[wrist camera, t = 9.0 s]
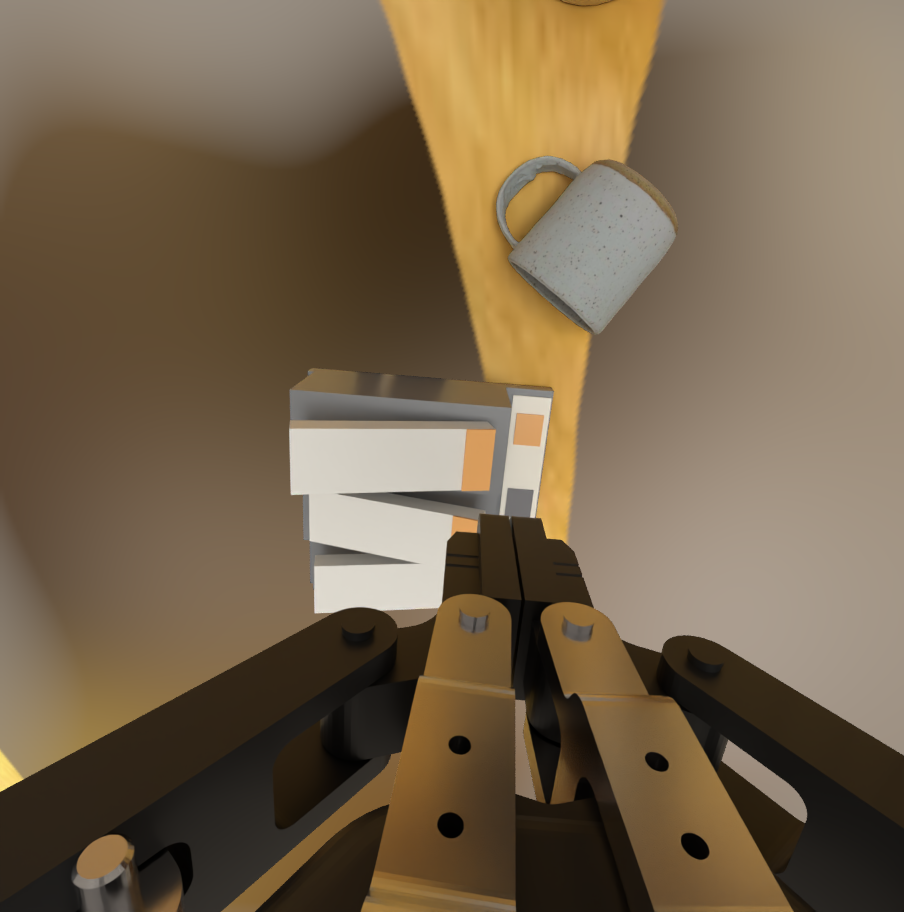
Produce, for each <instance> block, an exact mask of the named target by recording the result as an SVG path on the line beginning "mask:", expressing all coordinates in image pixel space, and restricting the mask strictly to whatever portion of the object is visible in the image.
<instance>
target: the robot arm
mask: <svg viewBox="0 0 904 912" xmlns="http://www.w3.org/2000/svg"><path fill="white" fill-rule="evenodd" d="M562 1H564V2H566V3H571V4H576V5H580V6H584V5H598V4H602V3H605V2H608V1H612V0H562ZM578 565H579V564H578V561H577V558H576V556H575V553H574V551H573V550H572V549H571V548H570V547H569V546H567V545H566V544H565V543H564V542H563V541H562V540H555V539H547V538H546V535H545V531H544V527H543V524H542V520H541V518H529V517H517V516H511V517H510V519H509V516H504V515H493V514H481V513H479V517H478V525H477V533H471V532H459V531H456V532H455V533H454V534H453V535H452V536H451V538H450V539H449V540H448V541H447V547H446V559H445V571H444V583H443V595H442V604H441V605H440V606H439V609H438V612H437V614H436V615H435V616H434V617H433V618H432V619H430V620H428V621H427V622H424V623H423V624H419V625H416V626H411V627H405V628H397V625H396V623H395V621H394V620H393V619H392V618H391V617H390V616H389V615H388V614H386V613H384V612H382V611H380V610H377V609H373V608H366V607H354V608H347V609H343V610H340V611H337V612H335V613H333V614H331V615H329V616H327V617H326V618H324V619H322V620H320V621H318V622H316V623H314V624H312V625H311V626H309V627H307V628H305V629H303V630H301V631H299V632H298V633H296V634H294V635H292V636H290V637H288V638H286V639H285V640H283V641H281V642H279V643H277V644H275V645H273V646H272V647H270V648H268V649H266V650H264V651H262V652H260V653H258V654H257V655H255V656H253V657H251V658H249V659H247V660H246V661H243V662H242V663H240V664H238V665H236V666H234V667H232V668H231V669H229V670H227V671H225V672H223V673H221V674H219V675H217V676H216V677H214V678H212V679H210V680H208V681H206V682H204V683H202V684H201V685H199V686H197V687H195V688H193V689H191V690H189V691H188V692H186V693H184V694H182V695H180V696H178V697H176V698H175V699H173V700H171V701H169V702H167V703H165V704H163V705H161V706H160V707H158V708H156V709H154V710H152V711H150V712H148V713H147V714H145V715H143V716H141V717H139V718H137V719H136V720H134V721H132V722H130V723H128V724H126V725H124V726H122V727H121V728H119V729H117V730H115V731H113V732H111V733H110V734H108V735H106V736H104V737H102V738H100V739H98V740H96V741H95V742H92V743H91V744H89V745H87V746H85V747H84V748H81V749H80V750H78V751H76V752H74V753H72V754H70V755H68V756H66V757H65V758H63V759H61V760H59V761H57V762H55V763H53V764H51V765H50V766H48V767H46V768H44V769H42V770H40V771H38V772H37V773H35V774H33V775H31V776H29V777H27V778H25V779H24V780H22V781H20V782H18V783H16V784H14V785H12V786H10V787H9V788H7V789H5V790H3V791H1V792H0V912H221V911H222V910H223V909H224V908H226V907H227V906H228V905H229V904H230V903H231V902H232V901H234V900H235V899H236V898H237V897H238V896H239V895H240V894H242V893H243V892H244V891H245V890H246V889H247V888H248V887H250V886H251V885H252V884H253V883H254V882H255V881H256V880H258V879H259V878H260V877H261V876H262V875H263V874H264V873H266V872H267V871H268V870H269V869H270V868H271V867H273V866H274V865H275V864H276V863H277V862H278V861H279V860H281V859H282V858H283V857H284V856H285V855H286V854H287V853H289V852H290V851H291V850H292V849H293V848H294V847H295V846H296V845H298V844H299V843H300V842H301V841H302V840H303V839H305V838H306V837H307V836H308V835H309V834H310V833H312V832H313V831H314V830H315V829H316V828H317V827H318V826H320V825H321V824H322V823H323V822H324V821H325V820H326V819H328V818H329V817H330V816H331V815H332V814H333V813H334V812H336V811H337V810H338V809H339V808H340V807H341V806H342V805H344V804H345V803H346V802H347V801H348V800H349V799H350V798H352V796H354V795H355V794H356V793H357V792H358V791H360V790H361V789H362V788H363V787H364V786H365V785H366V784H367V783H369V782H370V781H371V780H372V779H373V778H375V777H376V776H377V775H378V774H379V773H380V772H381V771H382V770H383V769H384V768H385V767H386V765H387V764H388V762H389V760H390V757H391V754H394V753H399V752H401V756H400V761H399V765H398V769H397V774H396V779H395V783H394V787H393V791H392V796H391V800H390V804H389V805H386V806H382V807H380V808H378V809H375V810H373V811H371V812H368V813H366V814H364V815H363V816H361V817H359V818H358V819H356V820H354V821H352V822H351V823H350V824H348V825H347V826H346V827H344V828H343V829H342V830H340V831H339V832H338V833H336V834H335V835H334V836H333V837H332V838H331V839H330V840H328V841H327V842H326V843H325V844H324V845H323V846H322V847H321V848H320V849H319V850H318V851H317V852H316V853H315V854H314V855H313V856H312V857H311V858H310V859H309V860H308V861H307V862H306V863H305V864H304V865H303V866H302V867H300V868H299V870H297V872H295V873H294V874H293V875H292V876H291V877H290V878H289V879H288V880H287V881H286V882H285V883H284V884H283V885H282V886H281V887H280V888H279V889H278V890H277V891H276V892H275V893H274V894H273V895H272V896H271V897H270V898H269V899H268V900H267V901H266V902H264V903H263V904H262V905H261V906H260V907H259V908H258V909H257V910H256V911H255V912H904V756H903V755H902V754H900V753H899V752H897V751H895V750H894V749H892V748H890V747H889V746H887V745H885V744H883V743H882V742H880V741H879V740H877V739H875V738H874V737H872V736H870V735H869V734H867V733H865V732H864V731H862V730H861V729H859V728H857V727H856V726H854V725H852V724H851V723H849V722H847V721H846V720H844V719H842V718H840V717H839V716H837V715H836V714H834V713H832V712H830V711H829V710H827V709H826V708H824V707H822V706H821V705H819V704H817V703H816V702H814V701H813V700H811V699H809V698H808V697H806V696H804V695H803V694H801V693H799V692H798V691H796V690H794V689H793V688H791V687H789V686H788V685H786V684H784V683H783V682H781V681H779V680H778V679H776V678H774V677H773V676H771V675H769V674H768V673H766V672H764V671H763V670H761V669H760V668H758V667H756V666H754V665H753V664H751V663H750V662H748V661H746V660H744V659H743V658H741V657H740V656H738V655H736V654H734V653H733V652H731V651H730V650H728V649H726V648H725V647H723V646H721V645H719V644H717V643H715V642H713V641H710V640H707V639H704V638H700V637H695V636H685V635H683V636H676V637H672V638H670V639H668V640H667V641H666V642H665V643H664V646H663V649H662V653H659V652H656V651H653V650H649V649H646V648H642V647H638V646H635V645H633V644H630V643H628V642H625V641H623V640H621V638H620V636H619V634H618V633H617V630H616V628H615V626H614V625H613V623H612V622H611V621H610V619H609V618H608V617H607V616H605V615H604V614H603V613H601V612H600V611H598V610H596V609H594V607H593V605H592V602H591V598H590V595H589V593H588V590H587V587H586V584H585V581H584V578H582V573H581V570H580V567H578ZM515 699H516V700H525V704H526V714H525V721H524V727H523V737H524V742H525V747H526V752H527V756H528V761H529V767H530V772H531V777H532V782H533V787H534V792H535V797H536V800H532V799H529V798H526V797H523V796H520V795H517V794H515ZM728 740H730V741H731V742H732V743H734V744H735V745H737V746H738V747H739V748H741V749H742V750H743V751H745V752H747V753H748V754H749V755H751V756H752V757H753V758H754V759H756V760H757V761H758V762H760V763H761V764H763V765H764V766H765V767H767V768H768V769H769V770H771V771H772V772H774V773H775V774H776V775H778V776H779V777H780V778H782V779H783V780H785V781H786V782H787V783H789V784H790V785H791V786H792V787H793V788H794V789H795V790H796V791H797V792H798V793H799V795H800V796H801V798H802V799H803V801H804V803H805V806H806V809H807V821H806V823H803V822H802V821H800V820H798V819H797V818H795V817H794V816H793V815H791V814H790V813H788V812H787V811H786V810H785V809H783V808H782V807H781V806H779V805H778V804H777V803H776V802H774V801H773V800H772V799H770V798H769V797H768V796H766V795H765V794H764V793H763V792H761V791H760V790H759V789H757V788H756V787H755V786H753V785H752V784H751V783H750V782H748V781H747V780H746V779H744V778H743V777H742V776H740V775H739V774H738V773H736V772H735V771H734V770H733V769H731V768H730V767H729V766H727V765H726V764H724V763H723V762H722V761H721V760H722V757H723V754H724V751H725V748H726V745H727V742H728Z"/></svg>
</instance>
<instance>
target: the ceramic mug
mask: <svg viewBox="0 0 904 912" xmlns="http://www.w3.org/2000/svg"><path fill="white" fill-rule="evenodd" d="M549 171H554V172H558V173H559V174H564V175H566V176H567V177H569V178H571V179H573V181H572V182H571V183H570V185H569V186H568V187H567V188H566V190H565V191H564V192H563V193H562V194H561V196H560V197H559V198H558V200H557V201H556V202H555V203H554V204H553V206H552V207H551V208H550V209H549V210H548V211H547V212H546V213H545V215H544V216H543V217H542V218H541V219H540V220H539V221H538V222H537V223H536V224H535V225H534V227H533V228H532V229H531V230H530V231H529V233H528V234H527V235H526V236H525V237H524V238H523V239H522V240H521V242H517V241H516V240H515V239H514V238H513V237H512V235H511V233H510V231H509V229H508V227H507V224H506V218H505V213H506V212H505V211H506V208H507V207H508V204H509V202H510V200H511V199H512V198H513V197H514V196H515V195H516V194H517V193H518V192H519V191H520V189H521V188H522V187H523V186H524V185H526V184H527V183H528V182H530V181H532V180H534V178H535V176H536V174H537V173H541V172H549ZM496 212H497V219H498V223H499V226H500V229H501V231H502V233H503V234H504V236H505V238H506V239H507V240H508V242H509V243H510V245H511V246H512V248H513V249H514V250H513V251H512V252H511V253H510V254H509V256H508V260H509V262H510V264H511V265H512V267H513V268H514V269H515V270H516V271H517V272H518V273H519V274H520V275H521V276H522V277H523V278H524V279H525V280H526V281H527V283H529V284H530V285H531V286H532V287H534V288H535V289H536V290H537V292H538V293H540V294H541V295H542V296H543V297H544V298H545V299H546V300H548V301H549V302H550V303H551V304H552V305H553V306H554V307H556V308H557V309H558V310H559V311H560V312H562V313H563V314H564V315H566V316H567V317H568V318H569V319H570V320H572V321H573V322H574V323H576V324H577V325H578V326H580V327H582V328H583V329H584V330H586V331H588V332H589V333H591V334H594V335H597V334H600V333H601V332H602V331H603V330H604V328H605V327H606V325H607V324H608V323H609V322H610V321H611V319H612V318H613V317H614V316H615V314H616V313H617V312H618V311H619V310H620V309H621V308H622V306H623V305H624V304H625V303H626V302H627V300H628V299H629V298H630V297H631V296H632V294H633V293H634V292H635V290H636V289H637V288H638V287H639V285H640V284H641V283H642V282H643V281H644V279H645V278H646V277H647V276H648V275H649V273H650V272H651V271H652V270H653V269H654V268H655V267H656V266H657V264H658V263H659V262H660V261H661V259H662V258H663V257H664V255H665V254H666V253H667V251H668V249H669V248H670V246H671V244H672V243H673V241H674V239H675V237H676V235H677V231H678V223H677V218H676V215H675V213H674V211H673V209H672V207H671V205H670V204H669V203H668V201H667V200H666V198H665V197H664V196H663V195H662V194H661V193H660V192H659V190H657V188H656V187H655V186H653V185H652V184H651V183H650V182H649V181H647V180H646V179H645V178H644V177H643V176H641V175H640V174H639V173H637V172H636V171H635V170H633V169H631V168H629V167H627V166H626V165H624V164H622V163H620V162H617V161H613V160H600V161H596V162H594V163H593V164H592V165H590V166H589V167H588V168H586V169H585V170H584V171H583V172H581V171H580V170H579V169H578V168H577V167H576V166H574V165H573V164H572V163H570V162H567V161H565V160H564V159H561V158H557V157H553V156H544V157H538V158H535V159H532V160H529V161H527V162H525V163H524V164H522V165H521V166H519V167H518V168H517V169H516V170H515V171H513V173H512V174H511V175H510V176H509V177H508V178H507V179H506V181H505V182H504V184H503V185H502V187H501V189H500V191H499V193H498V197H497V202H496Z"/></svg>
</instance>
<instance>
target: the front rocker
mask: <svg viewBox="0 0 904 912" xmlns="http://www.w3.org/2000/svg"><path fill="white" fill-rule="evenodd" d="M289 431H290V432H289V434H290V477H291V495H301V494H339V493H376V492H414V491H451V490H461V491H488V490H489V488H490V479H491V470H492V461H493V452H494V443H495V433H496V429H495V428H493V427H492V426H491V425H490V424H489V423H488V422H487V421H315V420H290V427H289Z"/></svg>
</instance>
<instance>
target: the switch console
mask: <svg viewBox="0 0 904 912" xmlns="http://www.w3.org/2000/svg"><path fill="white" fill-rule="evenodd" d="M553 393H554V391H553V389H552V388H549V387H537V386H525V385H513V384H501V383H489V382H477V381H464V380H453V379H441V378H429V377H416V376H404V375H392V374H380V373H368V372H356V371H344V370H332V369H319V368H311V369H310V370H308V377H306V378H305V379H304V380H302V381H301V382H299V383H298V384H297V385H295V386H294V387H293V388H291V389H290V420H315V421H487V422H488V423H489V424H490V425H491V426H492V427H493V428H495V429H496V433H495V443H494V452H493V461H492V470H491V479H490V488H489V490H488V491H461V490H451V491H414V492H385V493H391V494H396V495H402V496H408V497H413V498H419V499H424V500H430V501H436V502H441V503H447V504H452V505H458V506H464V507H469V508H475V509H480V510H486V511H485V514H493V515H504V516H509V519H510V517H511V516H517V517H529V518H536V512H537V505H538V498H539V491H540V484H541V477H542V470H543V463H544V456H545V449H546V442H547V435H548V428H549V421H550V414H551V407H552V400H553ZM303 527H304V528H303V531H304V540H310V533H309V494H303ZM337 554H371V553H366V552H361V551H356V550H351V549H346V548H342V547H337V546H332V545H327V544H322V543H317V542H312V541H310V583H313V589H314V563H315V555H337Z"/></svg>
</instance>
